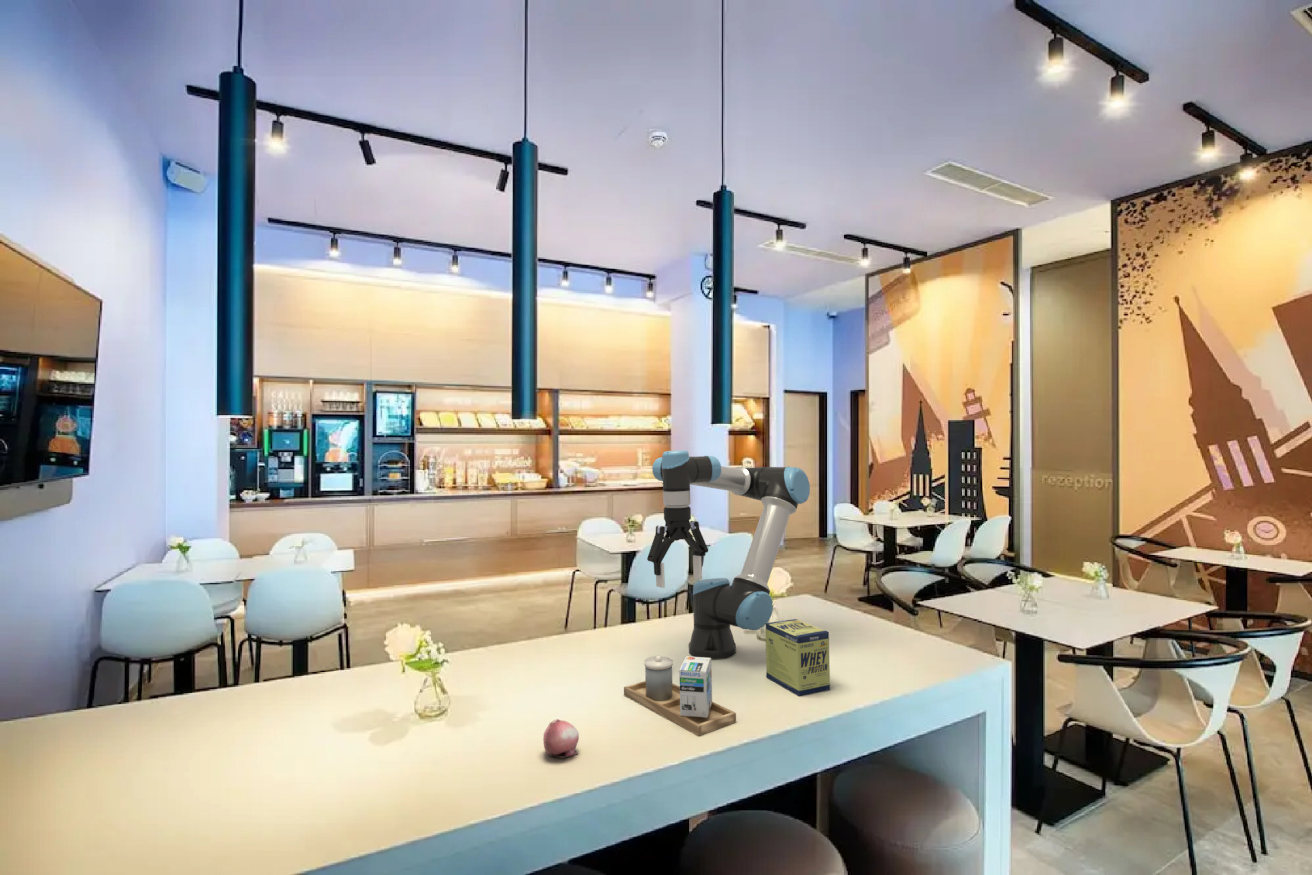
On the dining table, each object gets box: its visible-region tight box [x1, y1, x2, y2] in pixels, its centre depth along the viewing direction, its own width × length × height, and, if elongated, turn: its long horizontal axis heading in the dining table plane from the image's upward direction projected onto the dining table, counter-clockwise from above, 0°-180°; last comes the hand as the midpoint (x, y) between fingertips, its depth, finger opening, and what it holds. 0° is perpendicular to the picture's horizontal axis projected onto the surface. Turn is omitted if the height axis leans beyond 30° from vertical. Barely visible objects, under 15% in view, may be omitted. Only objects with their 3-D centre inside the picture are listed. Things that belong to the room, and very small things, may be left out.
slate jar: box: [643, 655, 674, 701], centre depth 161 cm, size 7×7×10 cm
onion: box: [542, 718, 580, 759], centre depth 133 cm, size 8×8×7 cm
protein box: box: [765, 618, 831, 697], centre depth 170 cm, size 10×16×16 cm
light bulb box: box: [678, 655, 713, 718], centre depth 150 cm, size 11×7×11 cm, turn 169°
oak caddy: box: [623, 680, 737, 737], centre depth 155 cm, size 12×30×2 cm, turn 37°
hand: (679, 582), depth 172 cm, fingers open, 13 cm apart
